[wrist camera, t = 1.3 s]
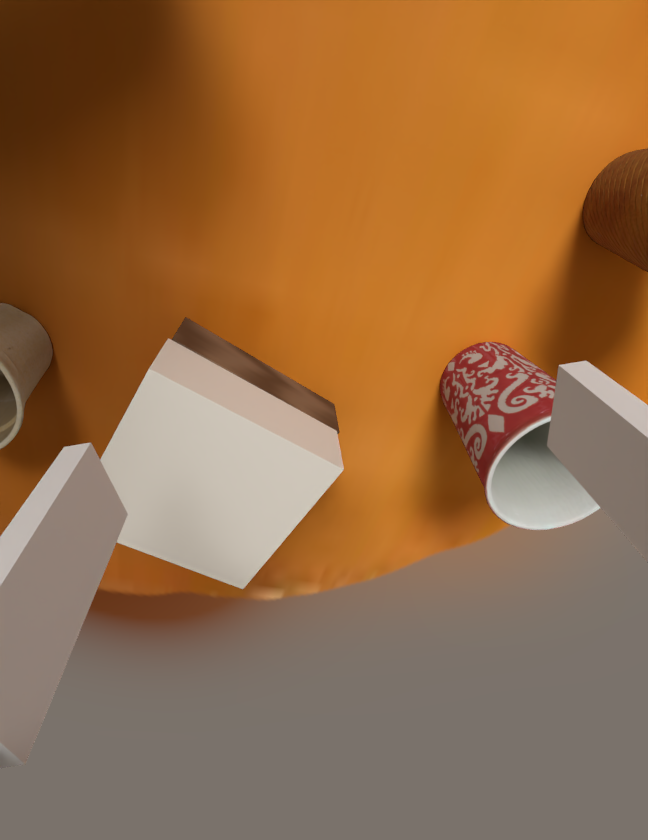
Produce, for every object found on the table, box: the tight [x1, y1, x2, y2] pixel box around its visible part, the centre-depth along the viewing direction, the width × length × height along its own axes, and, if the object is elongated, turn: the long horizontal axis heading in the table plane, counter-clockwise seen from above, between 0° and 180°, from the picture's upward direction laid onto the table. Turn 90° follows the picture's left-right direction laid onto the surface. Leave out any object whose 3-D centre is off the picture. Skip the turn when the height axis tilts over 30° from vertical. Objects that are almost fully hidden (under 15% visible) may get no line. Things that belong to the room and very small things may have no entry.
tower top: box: [100, 338, 344, 589], centre depth 33 cm, size 14×14×5 cm
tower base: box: [172, 317, 339, 434], centre depth 38 cm, size 14×14×5 cm
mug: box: [440, 342, 600, 530], centre depth 34 cm, size 13×9×14 cm
